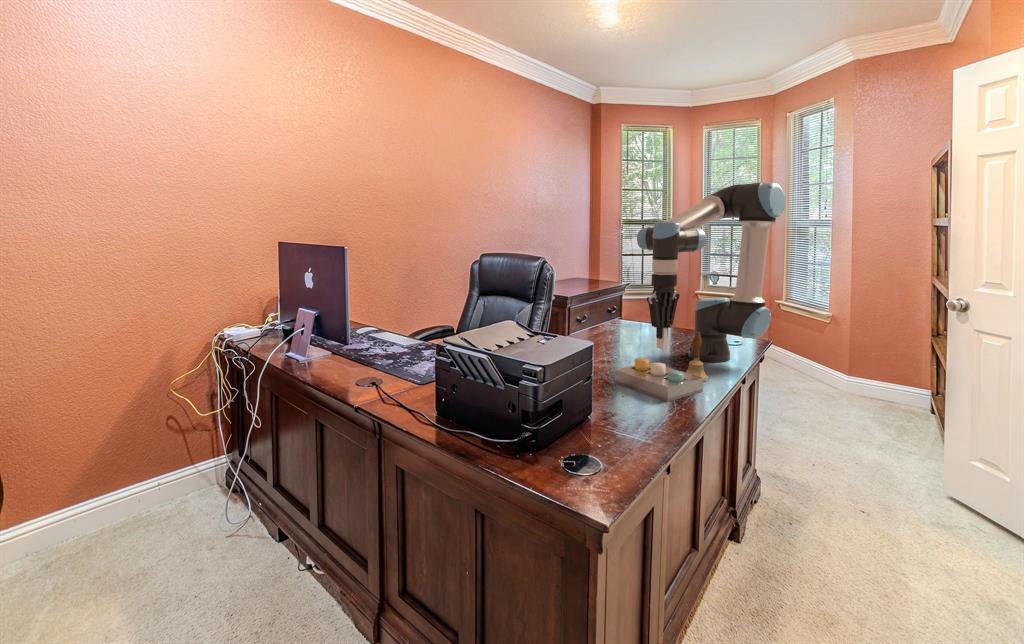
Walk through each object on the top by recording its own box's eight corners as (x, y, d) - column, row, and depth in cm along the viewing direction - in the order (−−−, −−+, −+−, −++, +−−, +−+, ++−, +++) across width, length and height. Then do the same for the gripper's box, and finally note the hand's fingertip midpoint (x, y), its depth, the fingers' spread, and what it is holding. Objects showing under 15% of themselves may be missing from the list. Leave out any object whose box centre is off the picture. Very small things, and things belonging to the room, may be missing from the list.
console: (648, 374, 176) (649, 362, 175) (702, 391, 158) (703, 377, 157) (614, 382, 168) (615, 369, 167) (667, 402, 150) (668, 387, 149)
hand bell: (710, 382, 167) (713, 335, 164) (684, 381, 169) (686, 334, 166) (706, 374, 175) (708, 329, 172) (680, 373, 177) (683, 329, 174)
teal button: (674, 383, 160) (674, 369, 159) (686, 387, 156) (687, 373, 155) (664, 386, 157) (664, 372, 156) (676, 390, 154) (676, 376, 153)
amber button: (641, 370, 171) (641, 357, 170) (651, 373, 167) (652, 360, 166) (631, 372, 169) (631, 359, 168) (641, 375, 165) (642, 362, 164)
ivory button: (657, 375, 165) (657, 361, 165) (668, 378, 162) (668, 365, 161) (647, 377, 163) (647, 364, 162) (658, 381, 159) (658, 367, 158)
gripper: (668, 270, 162) (665, 342, 167) (640, 273, 155) (638, 348, 159) (688, 272, 156) (684, 347, 160) (660, 275, 149) (657, 353, 153)
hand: (661, 347), depth 160 cm, fingers closed
